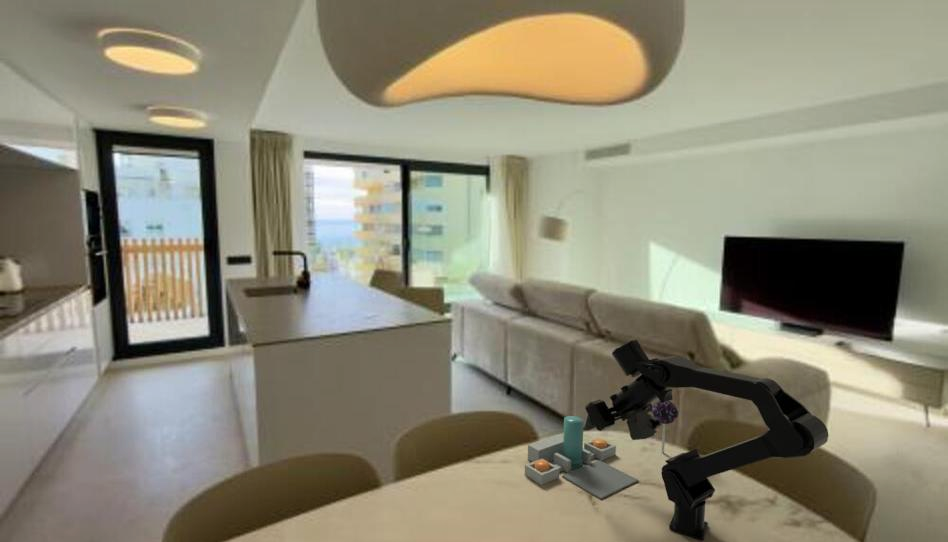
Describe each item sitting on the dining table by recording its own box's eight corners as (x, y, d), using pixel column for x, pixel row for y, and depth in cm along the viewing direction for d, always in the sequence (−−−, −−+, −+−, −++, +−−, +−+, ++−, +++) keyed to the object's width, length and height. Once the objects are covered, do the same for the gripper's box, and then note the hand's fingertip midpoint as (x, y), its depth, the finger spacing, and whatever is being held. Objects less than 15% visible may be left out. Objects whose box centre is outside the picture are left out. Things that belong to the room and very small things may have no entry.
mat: (638, 481, 114) (638, 479, 114) (600, 499, 106) (601, 497, 106) (599, 461, 124) (599, 460, 124) (562, 476, 116) (562, 475, 116)
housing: (615, 454, 128) (616, 440, 128) (541, 485, 112) (541, 469, 111) (583, 439, 137) (583, 426, 137) (510, 465, 121) (510, 450, 121)
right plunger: (604, 456, 126) (604, 445, 126) (591, 452, 128) (591, 442, 128) (608, 451, 129) (608, 440, 129) (595, 447, 131) (596, 437, 131)
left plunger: (545, 480, 113) (545, 468, 113) (531, 475, 115) (532, 463, 115) (551, 473, 116) (551, 462, 116) (538, 469, 118) (538, 458, 118)
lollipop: (645, 452, 130) (647, 399, 129) (656, 445, 134) (659, 394, 133) (669, 461, 125) (672, 406, 124) (680, 453, 129) (683, 400, 128)
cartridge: (577, 471, 119) (579, 425, 118) (558, 465, 122) (560, 420, 121) (585, 463, 123) (587, 418, 122) (566, 457, 126) (568, 414, 125)
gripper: (635, 436, 95) (591, 466, 105) (685, 417, 106) (640, 445, 116) (605, 388, 101) (566, 421, 111) (655, 374, 112) (615, 405, 122)
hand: (598, 424), depth 115 cm, fingers open, 9 cm apart
